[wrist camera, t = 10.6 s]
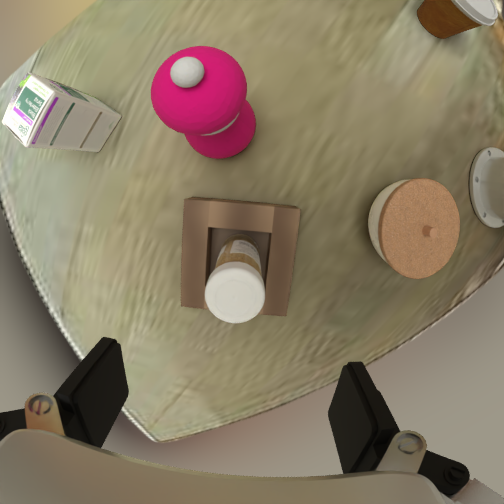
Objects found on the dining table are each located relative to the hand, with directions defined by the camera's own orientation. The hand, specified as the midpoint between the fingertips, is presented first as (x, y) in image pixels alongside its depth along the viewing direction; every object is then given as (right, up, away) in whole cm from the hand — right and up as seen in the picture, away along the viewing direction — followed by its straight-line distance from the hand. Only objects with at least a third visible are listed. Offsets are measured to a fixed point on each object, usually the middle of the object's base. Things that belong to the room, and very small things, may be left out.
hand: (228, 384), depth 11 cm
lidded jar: (+19, +9, +23) cm, 31 cm away
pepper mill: (-2, +19, +20) cm, 28 cm away
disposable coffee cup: (+29, +41, +15) cm, 52 cm away
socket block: (-1, +5, +24) cm, 24 cm away
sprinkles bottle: (0, +5, +24) cm, 24 cm away
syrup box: (-19, +22, +20) cm, 35 cm away
